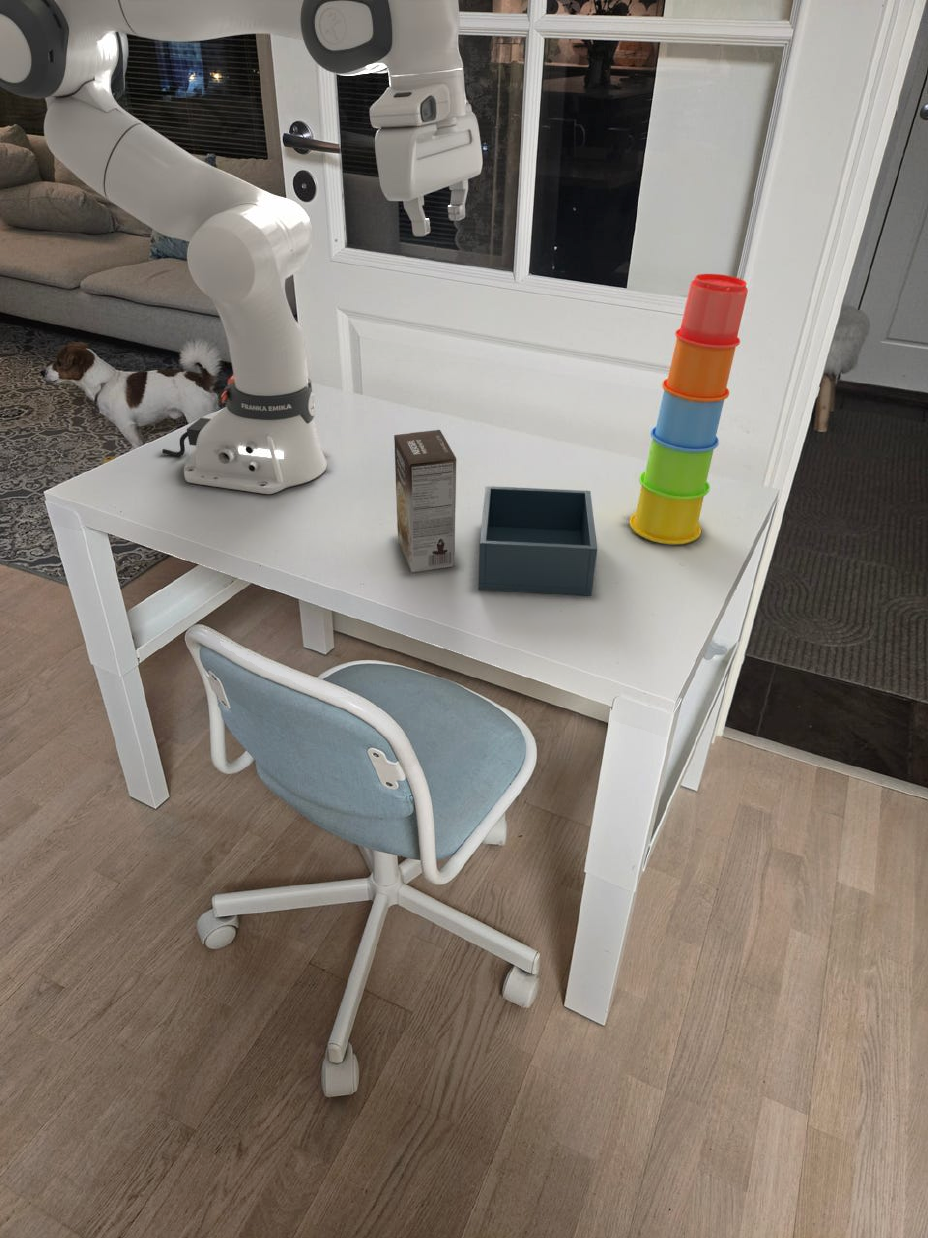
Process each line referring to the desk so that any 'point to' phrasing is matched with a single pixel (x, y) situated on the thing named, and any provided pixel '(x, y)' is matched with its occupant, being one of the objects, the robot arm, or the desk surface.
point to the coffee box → (425, 499)
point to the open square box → (537, 541)
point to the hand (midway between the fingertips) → (440, 226)
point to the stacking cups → (690, 412)
